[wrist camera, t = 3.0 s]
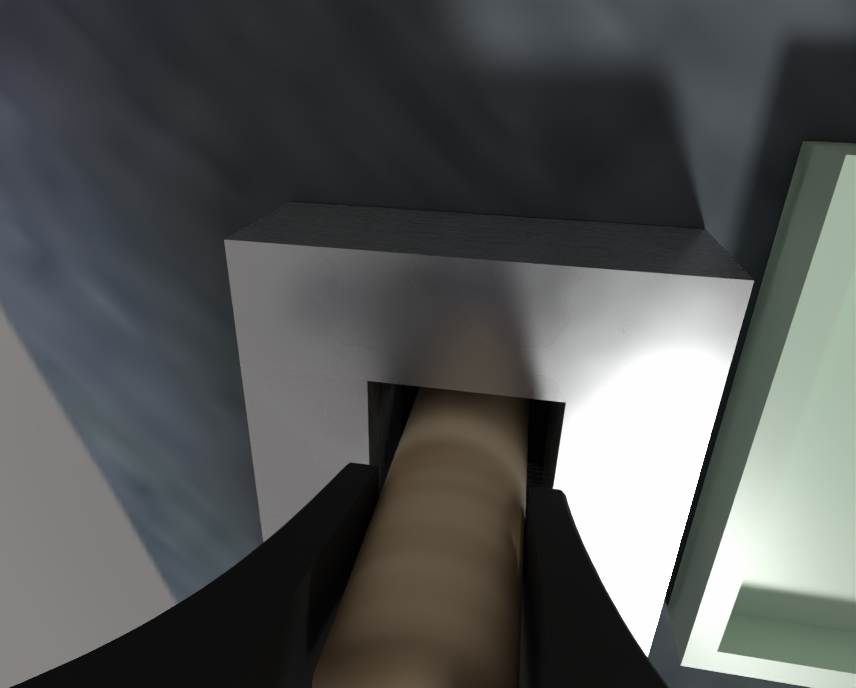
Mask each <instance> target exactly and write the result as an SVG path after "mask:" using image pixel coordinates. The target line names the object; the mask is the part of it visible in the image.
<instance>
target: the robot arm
mask: <svg viewBox="0 0 856 688" xmlns="http://www.w3.org/2000/svg"><path fill="white" fill-rule="evenodd" d="M378 499H379V466H375V465H367V464H359V463H352V462H350V463H349V464H347V465H346V466H345V467H344V468H343V469H342V470H341V471H340V472H339V473H338V474H337V475H336V476H335V477H334V478H333V479H332V480H331V481H330V482H329V483H328V484H327V485H326V486H325V487H324V488H323V489H322V490H321V491H320V492H319V493H318V494H317V495H316V496H315V497H314V498H313V499H312V500H311V501H310V502H308V503H307V504H306V505H305V506H304V507H303V508H302V509H301V510H300V511H299V512H298V513H297V514H295V515H294V516H293V517H292V518H291V519H290V520H289V521H288V522H287V523H286V524H285V525H283V526H282V527H281V528H280V529H279V530H278V531H277V532H275V533H274V534H273V535H272V536H271V537H269V538H268V539H267V540H266V541H265V542H263V543H262V544H261V545H260V546H259V547H257V548H256V549H255V550H254V551H252V552H251V553H250V554H249V555H248V556H246V557H245V558H244V559H242V560H241V561H240V562H238V563H237V564H236V565H235V566H233V567H232V568H231V569H229V570H228V571H226V572H225V573H224V574H222V575H221V576H219V577H218V578H217V579H215V580H214V581H212V582H211V583H209V584H208V585H207V586H205V587H204V588H202V589H201V590H199V591H198V592H196V593H194V594H193V595H191V596H190V597H188V598H187V599H185V600H183V601H182V602H180V603H178V604H177V605H175V606H174V607H172V608H170V609H169V610H167V611H165V612H164V613H162V614H160V615H159V616H157V617H155V618H154V619H152V620H150V621H148V622H147V623H145V624H143V625H142V626H139V627H138V628H136V629H134V630H132V631H130V632H128V633H126V634H125V635H123V636H121V637H119V638H117V639H115V640H113V641H111V642H109V643H107V644H105V645H103V646H101V647H99V648H97V649H95V650H93V651H91V652H89V653H87V654H85V655H83V656H81V657H79V658H76V659H74V660H72V661H70V662H68V663H65V664H63V665H61V666H59V667H56V668H54V669H52V670H49V671H47V672H45V673H43V674H40V675H38V676H36V677H33V678H31V679H29V680H27V681H25V682H22V683H20V684H17V685H15V686H12V687H10V688H312V680H313V676H314V672H315V669H316V666H317V664H318V661H319V658H320V656H321V653H322V650H323V648H324V645H325V642H326V639H327V637H328V634H329V631H330V629H331V626H332V623H333V621H334V618H335V615H336V612H337V610H338V607H339V604H340V602H341V599H342V596H343V593H344V591H345V588H346V585H347V583H348V580H349V577H350V575H351V572H352V569H353V566H354V564H355V561H356V558H357V556H358V553H359V550H360V548H361V545H362V542H363V539H364V537H365V534H366V531H367V529H368V526H369V523H370V520H371V518H372V515H373V512H374V510H375V507H376V504H377V502H378ZM520 688H669V687H668V686H667V684H666V683H665V682H664V680H663V679H662V677H661V676H660V675H659V673H658V672H657V670H656V669H655V668H654V666H653V665H652V663H651V662H650V660H649V659H648V657H647V656H646V654H645V653H644V651H643V650H642V648H641V647H640V645H639V644H638V642H637V641H636V639H635V638H634V636H633V634H632V633H631V631H630V630H629V628H628V626H627V625H626V623H625V621H624V620H623V618H622V616H621V615H620V613H619V611H618V609H617V608H616V606H615V604H614V602H613V601H612V599H611V597H610V595H609V593H608V592H607V590H606V588H605V586H604V584H603V582H602V580H601V578H600V576H599V574H598V572H597V570H596V568H595V566H594V564H593V562H592V560H591V558H590V556H589V554H588V552H587V550H586V547H585V545H584V543H583V541H582V538H581V536H580V534H579V531H578V529H577V526H576V524H575V521H574V519H573V516H572V513H571V510H570V507H569V504H568V501H567V497H566V495H565V494H564V492H563V491H562V490H559V489H551V488H543V487H536V486H530V490H529V498H528V505H527V513H526V521H525V535H524V562H523V589H522V616H521V644H520Z"/></svg>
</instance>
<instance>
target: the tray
mask: <svg viewBox="0 0 856 688" xmlns="http://www.w3.org/2000/svg"><path fill="white" fill-rule="evenodd" d="M668 612H669V616H670V620H671V625H672V629H673V634H674V638H675V642H676V647H677V651H678V656H679V660H680V665H681V666H687V667H693V668H698V669H704V670H710V671H716V672H722V673H728V674H734V675H740V676H746V677H752V678H758V679H764V680H770V681H776V682H782V683H788V684H794V685H800V686H806V687H812V688H856V143H840V142H818V141H803V142H802V146H801V149H800V153H799V156H798V159H797V163H796V166H795V170H794V173H793V177H792V180H791V184H790V187H789V190H788V194H787V197H786V201H785V204H784V208H783V211H782V215H781V218H780V221H779V225H778V228H777V232H776V235H775V239H774V242H773V246H772V249H771V253H770V256H769V259H768V263H767V266H766V270H765V273H764V277H763V280H762V284H761V287H760V290H759V294H758V297H757V301H756V304H755V308H754V311H753V315H752V318H751V322H750V325H749V328H748V332H747V335H746V339H745V342H744V346H743V349H742V353H741V356H740V359H739V363H738V366H737V370H736V373H735V377H734V380H733V384H732V387H731V390H730V394H729V397H728V401H727V404H726V408H725V411H724V415H723V418H722V422H721V425H720V428H719V432H718V435H717V439H716V442H715V446H714V449H713V453H712V456H711V459H710V463H709V466H708V470H707V473H706V477H705V480H704V484H703V487H702V491H701V494H700V497H699V501H698V504H697V508H696V511H695V515H694V518H693V522H692V525H691V528H690V532H689V535H688V539H687V542H686V546H685V549H684V553H683V556H682V560H681V563H680V566H679V570H678V573H677V577H676V580H675V584H674V587H673V591H672V594H671V597H670V601H669V604H668Z"/></svg>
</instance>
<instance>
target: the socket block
mask: <svg viewBox="0 0 856 688" xmlns="http://www.w3.org/2000/svg"><path fill="white" fill-rule="evenodd" d="M224 243H225V251H226V259H227V266H228V274H229V282H230V289H231V297H232V305H233V313H234V320H235V328H236V336H237V343H238V351H239V359H240V366H241V374H242V382H243V389H244V397H245V405H246V413H247V420H248V428H249V436H250V443H251V451H252V459H253V466H254V474H255V482H256V490H257V497H258V505H259V513H260V520H261V528H262V536H263V542H265V541H266V540H267V539H268V538H269V537H271V536H272V535H273V534H274V533H275V532H277V531H278V530H279V529H280V528H281V527H282V526H283V525H285V524H286V523H287V522H288V521H289V520H290V519H291V518H292V517H293V516H294V515H295V514H297V513H298V512H299V511H300V510H301V509H302V508H303V507H304V506H305V505H306V504H307V503H308V502H310V501H311V500H312V499H313V498H314V497H315V496H316V495H317V494H318V493H319V492H320V491H321V490H322V489H323V488H324V487H325V486H326V485H327V484H328V483H329V482H330V481H331V480H332V479H333V478H334V477H335V476H336V475H337V474H338V473H339V472H340V471H341V470H342V469H343V468H344V467H345V466H346V465H347V464H349V463H350V462H352V463H359V464H367V465H375V466H379V496H380V493H381V491H382V488H383V485H384V483H385V480H386V477H387V475H388V472H389V469H390V466H391V464H392V461H393V458H394V456H395V453H396V450H397V447H398V445H399V442H400V439H401V384H402V385H411V386H420V387H429V388H438V389H447V390H456V391H465V392H474V393H484V394H493V395H502V396H511V397H520V398H529V399H538V400H547V401H552V403H551V410H550V417H549V425H548V432H547V439H546V447H545V454H544V461H543V464H540V463H532V462H527V481H526V508H525V521H526V513H527V505H528V498H529V490H530V486H536V487H543V488H551V489H559V490H562V491H563V492H564V494H565V495H566V497H567V501H568V504H569V507H570V510H571V513H572V516H573V519H574V521H575V524H576V526H577V529H578V531H579V534H580V536H581V538H582V541H583V543H584V545H585V547H586V550H587V552H588V554H589V556H590V558H591V560H592V562H593V564H594V566H595V568H596V570H597V572H598V574H599V576H600V578H601V580H602V582H603V584H604V586H605V588H606V590H607V592H608V593H609V595H610V597H611V599H612V601H613V602H614V604H615V606H616V608H617V609H618V611H619V613H620V615H621V616H622V618H623V620H624V621H625V623H626V625H627V626H628V628H629V630H630V631H631V633H632V634H633V636H634V638H635V639H636V641H637V642H638V644H639V645H640V647H641V648H642V650H643V651H644V653H645V654H646V656H647V657H648V654H649V650H650V647H651V643H652V640H653V636H654V633H655V629H656V626H657V622H658V619H659V615H660V611H661V608H662V604H663V601H664V597H665V594H666V590H667V587H668V583H669V580H670V576H671V573H672V569H673V566H674V562H675V559H676V555H677V552H678V548H679V544H680V541H681V537H682V534H683V530H684V527H685V523H686V520H687V516H688V513H689V509H690V506H691V502H692V499H693V495H694V492H695V488H696V485H697V481H698V477H699V474H700V470H701V467H702V463H703V460H704V456H705V453H706V449H707V446H708V442H709V439H710V435H711V432H712V428H713V425H714V421H715V418H716V414H717V410H718V407H719V403H720V400H721V396H722V393H723V389H724V386H725V382H726V379H727V375H728V372H729V368H730V365H731V361H732V358H733V354H734V351H735V347H736V343H737V340H738V336H739V333H740V329H741V326H742V322H743V319H744V315H745V312H746V308H747V305H748V301H749V298H750V294H751V291H752V287H753V284H754V280H753V279H752V278H751V277H750V275H749V274H748V273H747V272H746V271H745V270H744V269H743V268H742V267H741V266H740V265H739V264H738V263H737V262H736V261H735V260H734V259H733V257H732V256H731V255H730V254H729V253H728V252H727V251H726V250H725V249H724V248H723V247H722V246H721V245H720V244H719V243H718V242H717V241H716V239H715V238H714V237H713V236H712V235H711V234H710V233H709V232H708V231H707V230H706V229H694V228H679V227H664V226H649V225H634V224H619V223H604V222H589V221H574V220H559V219H544V218H529V217H514V216H499V215H484V214H469V213H454V212H439V211H424V210H409V209H394V208H379V207H364V206H349V205H334V204H319V203H304V202H288V203H287V204H285V205H283V206H281V207H280V208H278V209H276V210H274V211H273V212H271V213H269V214H267V215H266V216H264V217H262V218H261V219H259V220H257V221H255V222H254V223H252V224H250V225H248V226H247V227H245V228H243V229H241V230H240V231H238V232H236V233H235V234H233V235H231V236H229V237H228V238H226V239H224Z"/></svg>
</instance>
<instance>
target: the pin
mask: <svg viewBox="0 0 856 688" xmlns="http://www.w3.org/2000/svg"><path fill="white" fill-rule="evenodd" d="M528 426H529V398H520V397H511V396H502V395H493V394H484V393H474V392H465V391H456V390H447V389H438V388H429V387H420V388H419V391H418V393H417V396H416V399H415V402H414V404H413V407H412V410H411V412H410V415H409V418H408V420H407V423H406V426H405V429H404V431H403V434H402V437H401V439H400V442H399V445H398V447H397V450H396V453H395V456H394V458H393V461H392V464H391V466H390V469H389V472H388V475H387V477H386V480H385V483H384V485H383V488H382V491H381V493H380V496H379V499H378V502H377V504H376V507H375V510H374V512H373V515H372V518H371V520H370V523H369V526H368V529H367V531H366V534H365V537H364V539H363V542H362V545H361V548H360V550H359V553H358V556H357V558H356V561H355V564H354V566H353V569H352V572H351V575H350V577H349V580H348V583H347V585H346V588H345V591H344V593H343V596H342V599H341V602H340V604H339V607H338V610H337V612H336V615H335V618H334V621H333V623H332V626H331V629H330V631H329V634H328V637H327V639H326V642H325V645H324V648H323V650H322V653H321V656H320V658H319V661H318V664H317V666H316V669H315V672H314V676H313V680H312V688H519V671H520V644H521V616H522V589H523V562H524V535H525V508H526V481H527V453H528Z"/></svg>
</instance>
